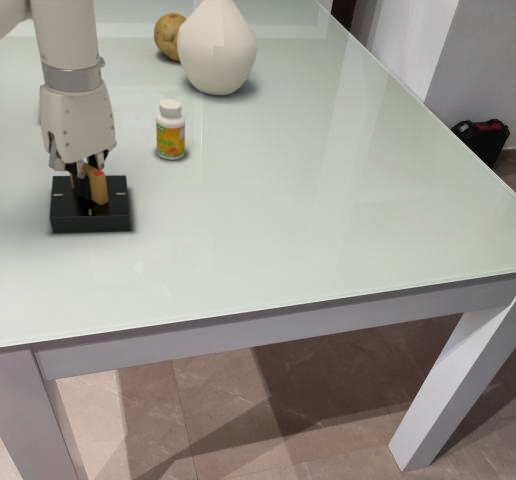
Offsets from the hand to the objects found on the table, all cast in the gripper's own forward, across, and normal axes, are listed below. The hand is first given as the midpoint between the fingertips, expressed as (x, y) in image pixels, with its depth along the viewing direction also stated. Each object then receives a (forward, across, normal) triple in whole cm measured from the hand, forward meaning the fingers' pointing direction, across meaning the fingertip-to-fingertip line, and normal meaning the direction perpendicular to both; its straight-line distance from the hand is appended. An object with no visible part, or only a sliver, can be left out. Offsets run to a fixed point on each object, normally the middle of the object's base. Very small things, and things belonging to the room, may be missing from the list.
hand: (89, 192), depth 83 cm
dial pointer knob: (0, 0, 0) cm, 0 cm away
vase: (+4, -55, -20) cm, 59 cm away
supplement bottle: (+4, -24, -5) cm, 24 cm away
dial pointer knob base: (+3, 0, 0) cm, 3 cm away
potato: (+4, -60, -39) cm, 72 cm away
